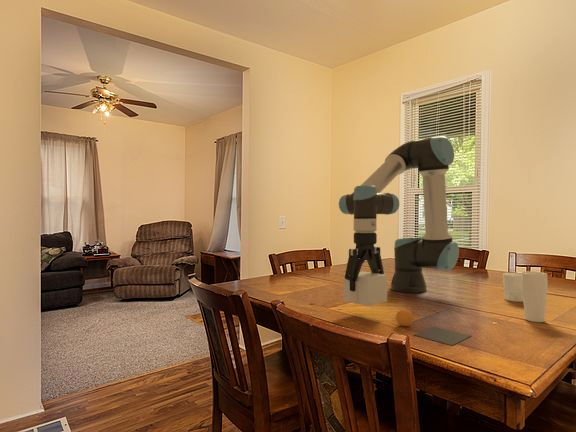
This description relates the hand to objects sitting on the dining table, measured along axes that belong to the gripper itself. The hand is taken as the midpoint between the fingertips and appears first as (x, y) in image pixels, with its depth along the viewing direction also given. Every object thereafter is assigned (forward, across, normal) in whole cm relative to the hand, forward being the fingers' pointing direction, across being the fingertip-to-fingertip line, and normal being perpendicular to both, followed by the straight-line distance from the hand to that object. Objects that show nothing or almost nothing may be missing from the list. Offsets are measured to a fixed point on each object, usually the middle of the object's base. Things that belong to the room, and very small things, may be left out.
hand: (365, 298), depth 123 cm
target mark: (+6, 0, -27) cm, 27 cm away
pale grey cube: (+1, 0, 0) cm, 1 cm away
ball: (+3, 0, -15) cm, 15 cm away
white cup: (+5, +60, -25) cm, 65 cm away
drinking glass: (+5, +35, -39) cm, 53 cm away
